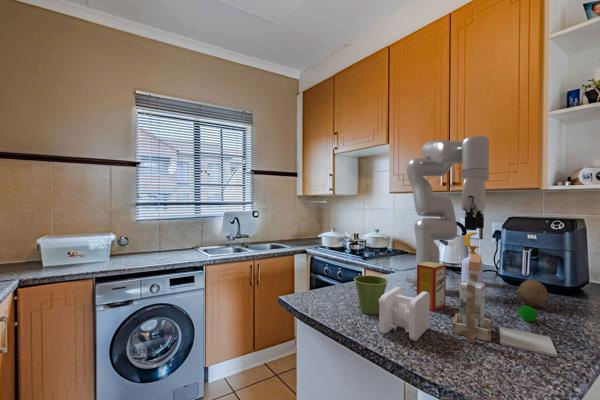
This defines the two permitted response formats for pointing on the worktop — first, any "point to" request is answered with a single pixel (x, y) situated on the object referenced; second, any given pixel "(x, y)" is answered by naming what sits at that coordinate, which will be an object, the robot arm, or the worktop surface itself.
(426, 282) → the baking soda box
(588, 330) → the worktop surface
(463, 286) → the syrup box
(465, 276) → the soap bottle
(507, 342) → the mat
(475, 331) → the cradle
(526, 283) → the natural sponge
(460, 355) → the worktop surface
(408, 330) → the cable organizer
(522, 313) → the polyhedron
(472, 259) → the bar
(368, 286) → the plant pot
